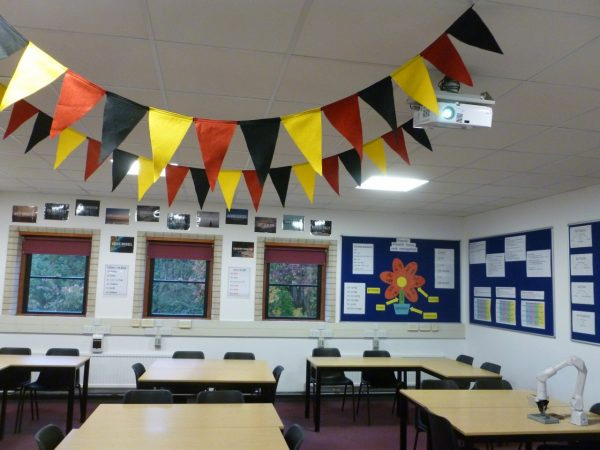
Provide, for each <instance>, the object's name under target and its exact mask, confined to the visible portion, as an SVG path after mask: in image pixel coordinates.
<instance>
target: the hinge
mask: <svg viewBox="0 0 600 450" xmlns="http://www.w3.org/2000/svg"><path fill="white" fill-rule="evenodd" d="M536 396H538V394H531V393H530V394H529V395H527V397H526V398H527V401H528V405H531V406H533V407H536V408H538V406H537V403H536V402H535V398H536ZM546 410H549V406H547V409H546Z"/></svg>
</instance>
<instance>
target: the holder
mask: <svg viewBox="0 0 600 450" xmlns="http://www.w3.org/2000/svg"><path fill="white" fill-rule="evenodd" d="M545 415H548V416H551V417H554V418H557V419H559V421H560V420H562V421H563V420H565V417H564V416H563V415H561V414H557V413H555V412H552V413H551V412H549V413H546V412H545Z"/></svg>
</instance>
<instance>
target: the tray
mask: <svg viewBox="0 0 600 450" xmlns="http://www.w3.org/2000/svg"><path fill="white" fill-rule="evenodd" d="M526 415H527V416H526V417H527V419H530V420H532V421H535V422H538V423H541V424H544V425H552V424H553V425H554V424H560V420H559V419H557V418H554V417H551V416H548V415H546V416H545V417H543V416H541V413H540V412H538V413H527V414H526Z"/></svg>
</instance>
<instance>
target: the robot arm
mask: <svg viewBox="0 0 600 450" xmlns="http://www.w3.org/2000/svg"><path fill="white" fill-rule="evenodd" d="M567 366H570V367H575V368H576V369H577V376H576V382H575V387H574V391H573V394H572V397H571V398H570V400H569V405H570V418H571V419H570V420H568V421H567V422H568V423H570V424H573V425H575V426H579V427H583V426H584V427H585V426H589V425H590V424H589V423H588V422H589V421H588V419H589V418H588V414H587V413H586V412H585V411H584V407H585V405H584V397H583V396H584V391H585V385H586V381H587V375H588V368H587V366H586V364H585V361H584V360H583V359H582V358H581V357H580V356H579V357H578V356H577V355H571V356H569V357H567V358H565V359H564V360H562V361H561V362H559V363H558V364H556V365H554V366H547V368H546V369H544V370H541V372H537V373H536V375H535V378H536V380H537V381H536V382H537V383H536V390H537V391H536V392H537V394H536V395H538V396H536V398H535V402H536V403H537V406H538V407H537V409H538V411H539V412H538V413H540V412H543V406H544V405H546V407H545V412H547V410H548V409H547V407H548V405H549V403H550V396H548V394H547V380H549V379H551V378H552V377H554V376H555V375H557V372H559V371H560V370H562V369H563V368H565V367H567Z"/></svg>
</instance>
